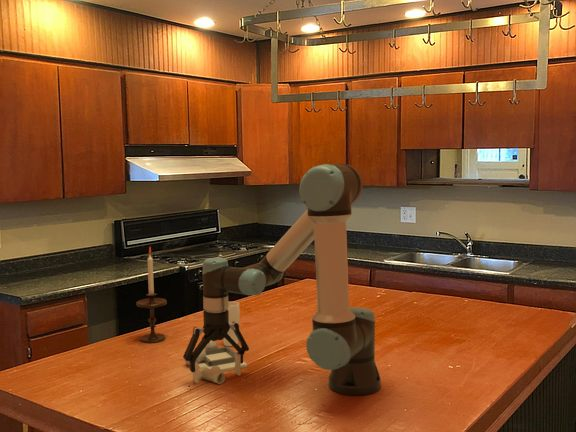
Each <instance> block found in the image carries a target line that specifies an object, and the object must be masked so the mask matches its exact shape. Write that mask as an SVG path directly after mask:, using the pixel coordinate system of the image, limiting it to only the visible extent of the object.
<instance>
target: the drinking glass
mask: <svg viewBox="0 0 576 432" xmlns="http://www.w3.org/2000/svg"><path fill="white" fill-rule="evenodd" d="M228 306H229V307H228V309H227V310H228V311H229V324H231V323H232V322H236V323H238V324H239V325H240V320H241V319H240V318H241V310H240V302H238V301H228ZM227 334H228V335H229V336H230V337H231V338H232V339H233V340H234V341H235V342H236V343H237V345H238V344H239V340H238V338H237V337H236V335H235V333H234V331H233V330H232V329H231V328H230V329H229V331H228V333H227ZM222 340H223V341H222V343H223V345H224V347H227V346H228V347H233V346H232V345H231V344H230V343H229V342H228V341H227V340H226V339H225V338H224V339H222ZM238 346H239V345H238Z"/></svg>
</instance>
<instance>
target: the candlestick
mask: <svg viewBox="0 0 576 432" xmlns="http://www.w3.org/2000/svg"><path fill="white" fill-rule="evenodd" d="M148 249H149V250H148V257H147V283H148V293H147V294H145V296H147V297H148V298H143V299H142V298H141V299H139V300H137V301H136V306H137V307H138V308H144V309H149V313H150V314H149V317H150V318H148V319H147V320H148V323H150V325H149V326H148V327H149V328H150V333H149V334H144V335H142V336H141V337H139V338H140V342H141V343H143V344H158V343H162V342H163V341H165V340H166V335H165V334H163V333H156V331H155V328H156V327H157V326H156V325H157V324H156V322H157V318H155V309H156V308H160V307H164V306H166V305H167V304H168V303H167V302H168V301H167V299H166V298H161V297H155V296H156V295H158V293H155V288H154V287H155V285H154V282H155V281H154V264H153V263H154V260H153V257H152V255H151V254H152V249H151V245H150V246H149V247H148Z"/></svg>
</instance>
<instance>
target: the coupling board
mask: <svg viewBox="0 0 576 432" xmlns="http://www.w3.org/2000/svg"><path fill="white" fill-rule="evenodd" d="M194 350H195V349H194ZM194 350H193V351H194ZM235 352H236V351H234V350H233V349H232V348H230V346H222V347H219V345H218V343H217V341H210V342H209V343H208V344H207V345H206V347H205V348H204V349H203V351H202V352H201V354H200V355H199V356H198V358H197V359H196V361H197V362H198V370H200V368H201V367H207V368H209V369H211V368H212V367H213V366H218V367H220V369H221V372H223V373H224V372H226V371H232V370H235ZM184 361H185V364H186V365H190V361H186V360H185V359H184ZM242 368H248V363H246V362H245V361H244V360H243V363H242V364H241V369H242Z"/></svg>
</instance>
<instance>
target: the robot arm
mask: <svg viewBox="0 0 576 432" xmlns="http://www.w3.org/2000/svg"><path fill="white" fill-rule="evenodd" d="M363 184H364V182H363V179H362V176H361V174H360V172H359V171H358V169H356V168H355V167H353V166H352V165H349V164H346V163H335V164H330V163H329V164H328V163H327V164H326V163H324V164H319V165H317V166H316V165H315V166H313V167H311V168H310V169H309V170H307V171H306V172H305V174H303V176H302V178H301V180H300V183H299V191H298V192H299V196H300V199H301V202H302V203H303V204H304V205H305V207H307V208H306V210H305V212H303V213H302V214H301V216H300V217H299V218H298V219H297V220H296V221H295V223H294V224H292V225H291V227H290V228H288V230H287V231H286V232H285V233H284V235H283V236H281V238H280V239H279V240H278V241H277V242H276V244H274V245H273V247H272V248H271V249H269V251H268V252H267V253H266V254H265V256H264V257H263V258H262V259H261V260H260V261H259V262H257V263H254V264H251V265H248V266H245V267H234V266H230V265H229V262H228V259H226V258H224V257H210V258H206V259H204V261H203V262H202V274H201V275H202V288H203V290H202V291H203V293H202V294H203V295H202V298H203V299H202V302H203V303H202V304H203V307H202V308H203V314H202V315H203V316H202V317H203V326H202V327H196V326H194V327H193V329H192V336H191V338H190V340H189V341H188V345H187V346H186V348H185V349H186V350H185V351H184V354H183V356H182V357H183V359H184V361H185V360H186V361H190V364H189V371H190V372H191V373H192V382H194V383H195V384H199V376H198V372H199V368H198V362H197V361H196V359H197V358H198V356H199V355H200V354H201V352H202V351H203V349H204V348H205V347H206V345H207V344H208V343H209V342H210V341H214V342H217V341H222V340H223V339H224V338H225V339H226V340H227V341H228V342H229V343H230V344H231V345H232V346H231V347H233V348H234V349H235V350H236V351H234V352H235V369H234V373H235V374H236V375H237V376H241V374H242V373H241V371H242V370H241V369H242V368H241V364H242V363H243V361H244V355H245V352H249V350H250V348H249V345H248V344H247V342H246V340H245V338H244V336H243V334H242V332H241V331H240V323H239V324H238V323H236V322H232V323H231V324H229V311H228V310H227V309H228V307H229V306H228V302H229V293H233V294H237V295H239V294H240V295H245V296H260V295H261V294H262V293H263V291H264V290H265V287H268V286H272V285H274V284H276V283H278V282H279V281H281V280H282V278H283V277H284V273H285V271H286V270H287V269H289V267H290V266H291V265H292V264H293V262H295V261H296V259H298V257H300V255H302V253H303V252H304V251H305V250H306V249H308V247H309V246H310V245H311V244H312V242H313V241H314V258H315V259H314V260H315V261H314V263H315V281H316V284H315V285H316V286H315V287H316V305H317V306H316V308H317V309H316V310H317V311H316V312H315V313H314V314H313V315H312V316H311V323H312V331H311V332H310V333H309V334H308V337H307V340H306V344H305V345H306V351H307V354H308V356H309V358H310V360H311V361H312V362H314V363H315V365H316V366H317V367H319V368H321V369H323V370H328V371H330V373H329V376H328V388H330V390H332V391H333V392H335V393H338V394H341V395H347V396H365V395H370V394H374V393H376V392H378V391H379V390H380V389H381V387H382V386H381V383H382V382H381V381H382V379H381V377H380V373H379V370H378V367H377V364H376V359H375V349H376V346H375V345H376V343H375V342H376V341H375V340H376V333H375V331H376V320H375V313H374V311H373V310H371V309H369V308H365V307H359V306H358V307H356V306H350V298H349V297H350V292H349V291H350V290H349V263H348V240H347V237H348V235H347V234H348V233H347V220H348V219H349V218H350V217H351V216H352V205H354V204H355V203H356V202H357V201H358V199H359V198H360V196H361V194H362V191H363ZM230 328H231V329H232V330H233V331H234V333H235V335H236V337H237V338H238V343H239V344H240V346H241V347H240V346H239V345H237V343H236V342H235V341H234V340H233V339H232V338H231V337H230V336H229V335H228V334H227V333H228V331H229V329H230ZM202 333H203V336H202ZM200 336H202V337H201V340H200V341H199V339H200ZM198 341H199V343H198ZM197 343H198V344H197ZM196 345H197V346H196ZM193 350H194V351H193ZM204 350H205V349H204Z"/></svg>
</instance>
